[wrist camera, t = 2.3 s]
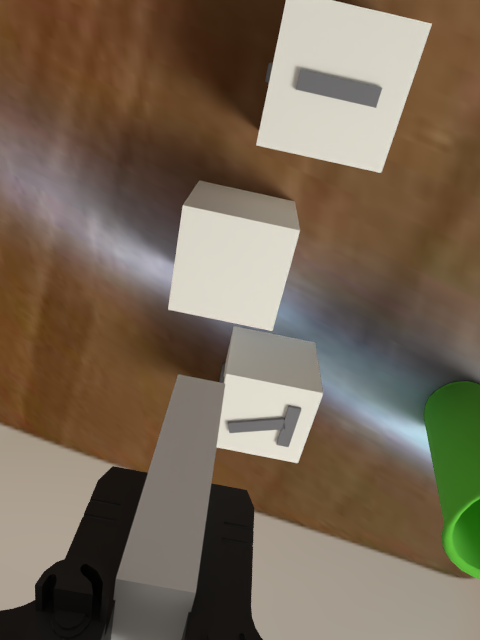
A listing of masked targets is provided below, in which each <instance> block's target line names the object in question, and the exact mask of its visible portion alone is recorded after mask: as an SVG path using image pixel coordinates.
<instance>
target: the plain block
mask: <svg viewBox="0 0 480 640" xmlns="http://www.w3.org/2000/svg"><path fill="white" fill-rule="evenodd" d="M299 232H300V228H299V222H298V217H297V211H296V206H295V201H291V200H286V199H281V198H277V197H272V196H268V195H263V194H259V193H254V192H250V191H245V190H240V189H236V188H231V187H227V186H222V185H218V184H213V183H209V182H204V181H200V180H199V182H198V183H197V185H196V186H195V188H194V189H193V191H192V192H191V194H190V195H189V197H188V198H187V199H186V201H185V202H184V204H183V207H182V214H181V221H180V228H179V235H178V242H177V249H176V256H175V263H174V270H173V278H172V285H171V292H170V299H169V306H168V310H172V311H177V312H182V313H187V314H192V315H197V316H201V317H206V318H211V319H216V320H221V321H226V322H231V323H235V324H240V325H245V326H250V327H255V328H260V329H264V330H269V331H273V327H274V323H275V320H276V316H277V312H278V309H279V305H280V302H281V298H282V294H283V291H284V287H285V283H286V280H287V276H288V272H289V269H290V265H291V261H292V258H293V254H294V250H295V247H296V243H297V240H298V236H299Z"/></svg>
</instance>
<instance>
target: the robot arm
mask: <svg viewBox="0 0 480 640" xmlns="http://www.w3.org/2000/svg"><path fill="white" fill-rule="evenodd" d="M224 390H225V383H220V382H215V381H210V380H205V379H199V378H194V377H189V376H184V375H179V374H178V376H177V380H176V383H175V386H174V389H173V393H172V396H171V399H170V403H169V406H168V409H167V412H166V416H165V419H164V422H163V425H162V429H161V432H160V435H159V439H158V442H157V445H156V448H155V452H154V455H153V458H152V462H151V465H150V468H149V471H148V473H146V472H140V471H135V470H130V469H124V468H119V467H114V466H113V467H112V468H111V469H110V470H109V471H108V472H106V474H104V475H103V476H102V477H101V478H100V479H99V480H98V482H97V485H96V487H95V490H94V492H93V494H92V496H91V499H90V502H89V503H88V506H87V508H86V511H85V513H84V517H83V518H82V520H81V522H80V525H79V527H78V530H77V532H76V534H75V537H74V539H73V541H72V544H71V546H70V548H69V551H68V553H67V555H66V558H65V559H64V560H61V561H59V562H56V563H55V564H54V565H52V566H51V567H50V568H48V569H47V570H46V571H44V573H43V574H42V575H41V577H40V578H39V580H38V581H37V583H36V585H35V600H34V601H32V602H31V603H28V604H26V605H24V606H21V607H17V608H14V609H9V610H3V611H0V640H263V639H262V638H261V637H260V635H259V633H258V632H257V630H256V628H255V626H254V622H253V619H252V613H251V587H252V558H253V547H252V545H253V528H254V526H253V525H254V507H253V504H252V502H251V499H250V497H249V494H248V492H247V490H243V489H238V488H232V487H227V486H221V485H216V484H211V482H212V475H213V468H214V461H215V454H216V446H217V439H218V432H219V425H220V418H221V411H222V404H223V397H224Z"/></svg>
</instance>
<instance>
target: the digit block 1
mask: <svg viewBox="0 0 480 640" xmlns="http://www.w3.org/2000/svg"><path fill="white" fill-rule="evenodd" d="M431 25H432V24H431V23H426V22H422V21H418V20H414V19H409V18H405V17H401V16H397V15H392V14H388V13H384V12H380V11H376V10H371V9H367V8H363V7H359V6H354V5H350V4H346V3H342V2H337V1H333V0H286V2H285V7H284V12H283V17H282V22H281V27H280V32H279V37H278V41H277V46H276V51H275V56H274V61H273V63H270V62H269V64H268V69H267V74H266V79H265V82H268V83H269V85H268V90H267V95H266V100H265V105H264V110H263V115H262V119H261V124H260V129H259V134H258V139H257V144H256V145H258V146H262V147H267V148H271V149H276V150H280V151H285V152H289V153H294V154H298V155H303V156H307V157H312V158H316V159H321V160H325V161H330V162H334V163H339V164H343V165H348V166H352V167H357V168H361V169H366V170H370V171H375V172H379V173H381V172H382V169H383V166H384V163H385V160H386V157H387V154H388V152H389V149H390V146H391V143H392V140H393V137H394V134H395V131H396V128H397V125H398V122H399V119H400V116H401V113H402V110H403V107H404V104H405V102H406V99H407V96H408V93H409V90H410V87H411V84H412V81H413V78H414V75H415V72H416V69H417V66H418V63H419V60H420V57H421V54H422V52H423V49H424V46H425V43H426V40H427V37H428V34H429V31H430V28H431Z"/></svg>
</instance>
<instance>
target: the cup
mask: <svg viewBox="0 0 480 640" xmlns="http://www.w3.org/2000/svg"><path fill="white" fill-rule="evenodd" d="M424 421H425V426H426V431H427V436H428V442H429V447H430V452H431V457H432V462H433V468H434V473H435V478H436V483H437V488H438V493H439V499H440V504H441V509H442V514H443V519H444V527H443V531H442V535H441V537H442V544H443V549H444V551H445V552H446V554H447V556H448V558H449V559H450V560H451V561H452V562H453V563H454V564H455V565H456V566H457V567H459V568H460V569H461V570H462V571H463V572H465V573H467V574H469V575H471V576H473V577H475V578H478V579H480V385H479V384H476V383H473V382H467V381H460V382H453V383H450V384H447V385H445V386H443V387H441V388H439V389H438V390H436V391H435V392H434V393H433V394H432V395H431V396H430V397H429V399H428V401H427V403H426V406H425V410H424Z"/></svg>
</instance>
